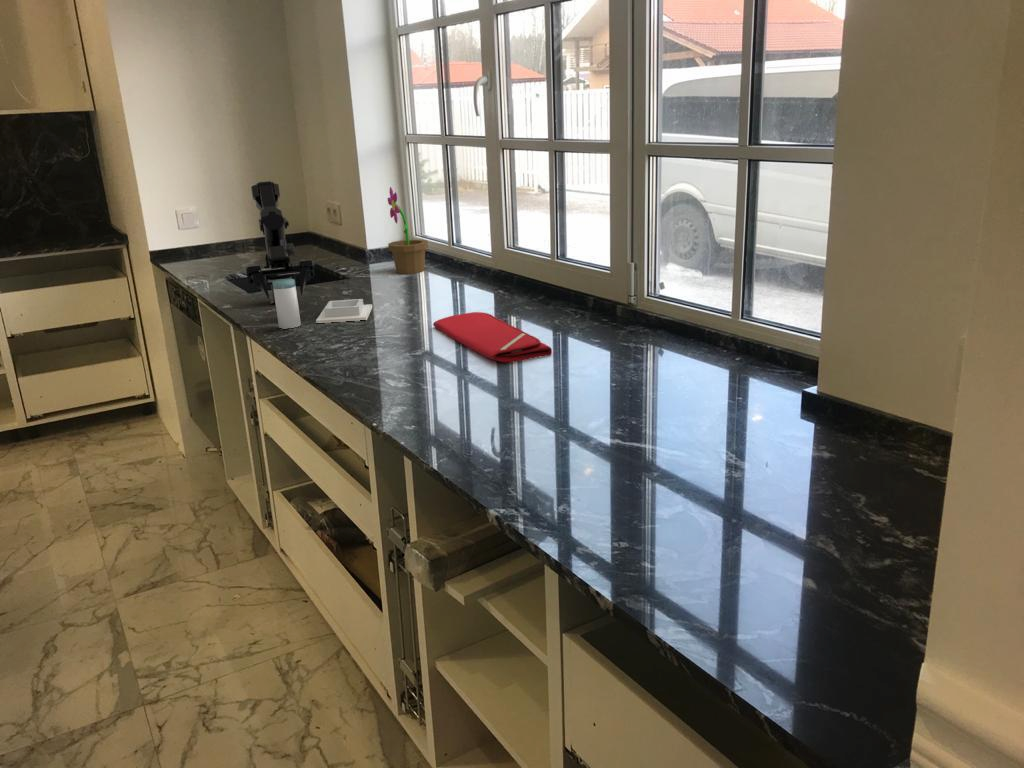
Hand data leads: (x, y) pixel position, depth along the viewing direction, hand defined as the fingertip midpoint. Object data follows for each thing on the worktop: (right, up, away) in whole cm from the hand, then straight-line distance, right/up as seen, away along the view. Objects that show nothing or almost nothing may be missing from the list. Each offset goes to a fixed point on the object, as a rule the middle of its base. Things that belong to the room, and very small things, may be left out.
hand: (285, 296), depth 239 cm
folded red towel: (+58, -14, -26) cm, 65 cm away
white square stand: (+15, -5, +7) cm, 18 cm away
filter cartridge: (+2, -9, -2) cm, 9 cm away
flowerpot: (+27, +16, +66) cm, 74 cm away
